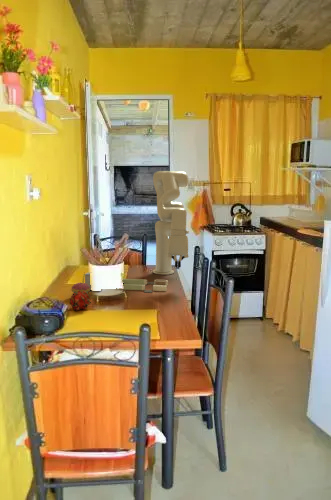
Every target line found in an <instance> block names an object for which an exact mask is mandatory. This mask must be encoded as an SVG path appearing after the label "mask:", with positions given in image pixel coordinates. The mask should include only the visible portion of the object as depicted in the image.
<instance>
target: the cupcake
mask: <svg viewBox="0 0 331 500" xmlns="http://www.w3.org/2000/svg"><path fill="white" fill-rule="evenodd" d="M85 274H86V272H83V275H82V282H77V283H75V284H73V285H72V286H71V292H73V293H78V291H81V292H83V291H86V292H87V293H88V294H89V292H91V291H90V286H89V285H88V284H86V283H85Z"/></svg>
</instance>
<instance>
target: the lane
mask: <svg viewBox="0 0 331 500" xmlns="http://www.w3.org/2000/svg"><path fill="white" fill-rule="evenodd" d="M122 279H123V282H124V284H123V286H124V289H123V290H125V291H126V290H128V291H130V290H131V291H144V290H146V286H147V285H148V284H147V283H148V279H137V278H136V279H135V278H122ZM165 280H166V279H165ZM155 281H156V279H154V282H155ZM168 283H169V281H168V279H167V280H166V286H162V285H155V283H154V284H152V290H153V291H152V292H167V290H168V288H167V287H168V285H169V284H168Z"/></svg>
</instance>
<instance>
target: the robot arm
mask: <svg viewBox="0 0 331 500" xmlns="http://www.w3.org/2000/svg"><path fill="white" fill-rule="evenodd" d="M152 178H153V179H152V180H153V181H152V182H153V187H154V189H155V192H156V211H157V213H156V214H157V216H158V217H159V219H160V220H157V221H156V222H155V225H154V231H155V269H153V270H152V273H154V274H156V275H165V276H166V275H173V274H174V273H175V271H174V269H172V262H173V261H174V268H175V269H176V270H180V268H181V267H182V266H181V265H182V264H181V263H182V261H183V260H184V259H187V258H189V257H190V256H189V238H188V235H187V234H190V231H189V230H187V214H188V212H187V209H186V208H185V207H184V205H183V203H182V202H180V201H175V200H177V199H178V198H179V197H180V195H181V190H180V188H185V187H187V186H188V183H189V177H188V174H187V173H186V172H185V171H176V170H175V171H170V170H159V171H158V170H157V171H156V172H154V173H153V177H152ZM177 256H179V259H178V257H177Z"/></svg>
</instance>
